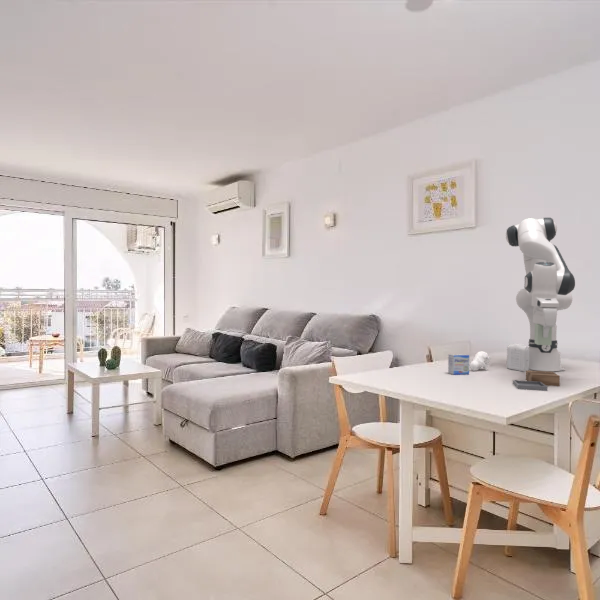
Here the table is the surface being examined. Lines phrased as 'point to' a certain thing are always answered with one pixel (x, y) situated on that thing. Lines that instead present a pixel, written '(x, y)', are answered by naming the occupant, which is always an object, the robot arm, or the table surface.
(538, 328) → the plug block
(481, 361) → the white lumpy piece
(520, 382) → the charcoal tray
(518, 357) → the white upright block
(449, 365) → the medicine box
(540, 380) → the walnut stand
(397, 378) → the table surface
